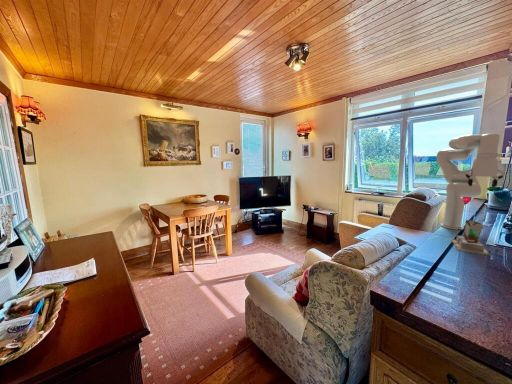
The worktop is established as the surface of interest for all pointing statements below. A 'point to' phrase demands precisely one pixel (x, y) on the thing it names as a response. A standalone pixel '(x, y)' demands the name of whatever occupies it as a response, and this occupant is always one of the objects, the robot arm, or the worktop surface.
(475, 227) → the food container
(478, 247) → the beige rectangular frame
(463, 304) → the worktop surface
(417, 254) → the worktop surface
